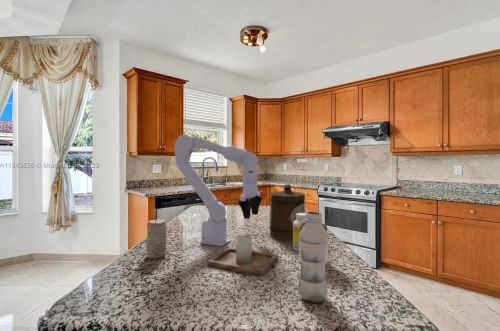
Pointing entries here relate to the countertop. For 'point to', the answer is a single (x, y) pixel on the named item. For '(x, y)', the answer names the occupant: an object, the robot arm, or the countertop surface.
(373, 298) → the countertop surface
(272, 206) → the wooden container
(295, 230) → the supplement bottle
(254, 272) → the tray
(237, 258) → the cup
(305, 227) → the plastic bottle
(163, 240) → the carving
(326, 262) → the jar
